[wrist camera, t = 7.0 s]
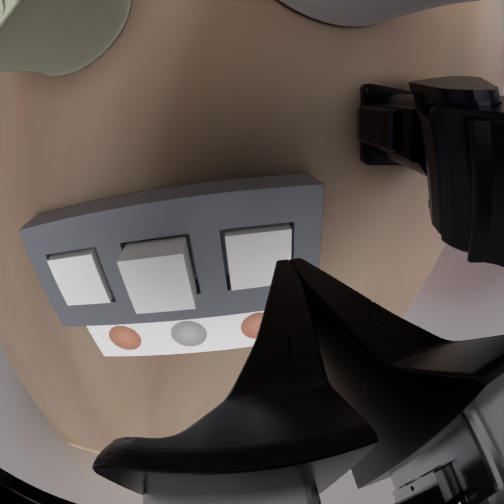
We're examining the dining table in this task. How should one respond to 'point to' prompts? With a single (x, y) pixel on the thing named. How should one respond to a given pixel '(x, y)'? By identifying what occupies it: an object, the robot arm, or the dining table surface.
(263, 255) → the button
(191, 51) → the dining table surface
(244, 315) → the pattern card
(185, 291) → the button middle
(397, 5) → the cylinder vase
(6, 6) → the can
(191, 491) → the robot arm
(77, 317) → the button board
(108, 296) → the button
